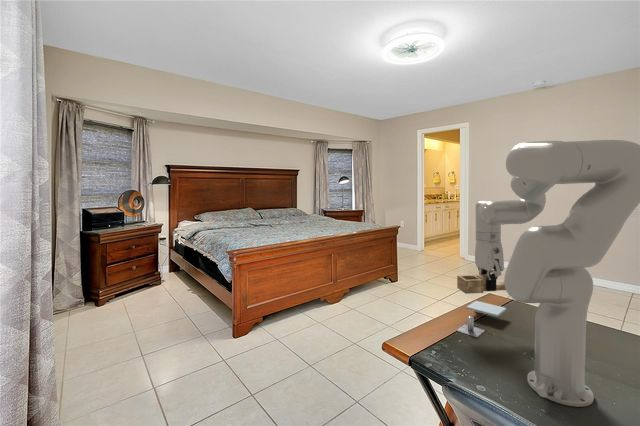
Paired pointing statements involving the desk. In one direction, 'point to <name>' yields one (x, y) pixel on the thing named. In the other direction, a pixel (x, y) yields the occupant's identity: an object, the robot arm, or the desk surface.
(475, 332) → the pintle
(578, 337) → the robot arm
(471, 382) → the desk surface
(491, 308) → the plate
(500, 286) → the link
